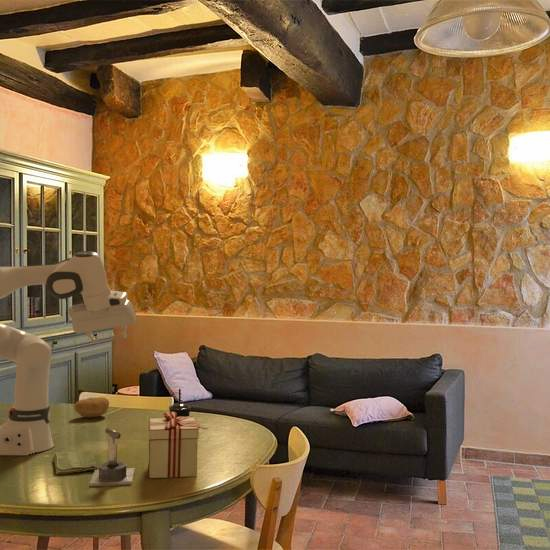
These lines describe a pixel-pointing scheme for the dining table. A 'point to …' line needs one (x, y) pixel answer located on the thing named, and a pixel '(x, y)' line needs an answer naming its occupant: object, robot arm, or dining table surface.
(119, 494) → the dining table surface
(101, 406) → the potato
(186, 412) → the drinking cup
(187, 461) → the gift box
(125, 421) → the dining table surface
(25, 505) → the dining table surface
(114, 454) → the chuck key
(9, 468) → the dining table surface
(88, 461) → the washcloth
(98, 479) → the chuck socket
